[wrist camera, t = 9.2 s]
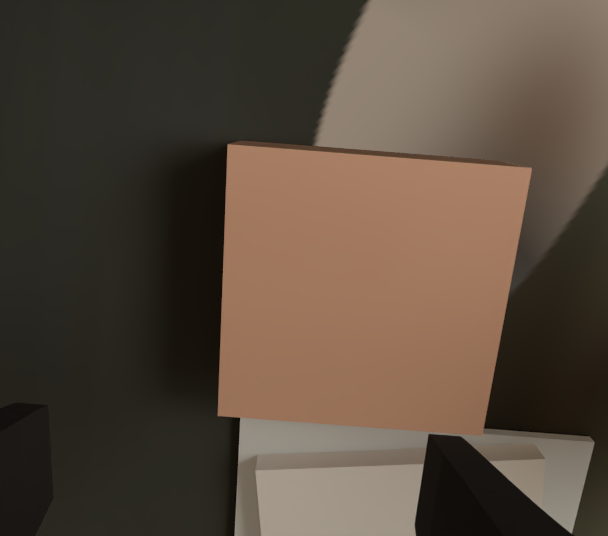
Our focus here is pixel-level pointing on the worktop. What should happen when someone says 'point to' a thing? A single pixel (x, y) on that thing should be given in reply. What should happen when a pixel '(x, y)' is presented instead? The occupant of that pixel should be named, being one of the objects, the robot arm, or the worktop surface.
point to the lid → (366, 489)
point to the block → (365, 285)
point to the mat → (335, 438)
